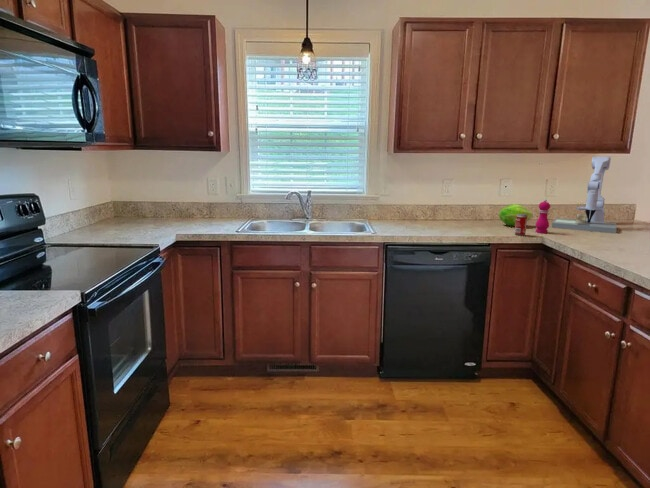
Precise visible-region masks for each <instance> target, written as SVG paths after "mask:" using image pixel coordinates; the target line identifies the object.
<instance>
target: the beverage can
mask: <svg viewBox="0 0 650 488" xmlns="http://www.w3.org/2000/svg"><path fill="white" fill-rule="evenodd" d="M527 223H528V221H527V216H526V215H525V214H517V216H516V223H515V226H514V235H515V236H517V235H518V236H519V237H525V235H526V233H527V232H526V231H527Z"/></svg>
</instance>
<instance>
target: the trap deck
mask: <svg viewBox="0 0 650 488" xmlns="http://www.w3.org/2000/svg"><path fill="white" fill-rule="evenodd" d="M617 226H618V225H617V222H606V221H604V222H596V221H590V222H588V221H587V220H586V222H585V224H582V223H576V219H568V218H560V217H559V218H558V217H556V218H555V219H554V221H552V223H551V228H554V229H564V230H575V231H586V232H596V233H597V232H598V233H609V234H617Z"/></svg>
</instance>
